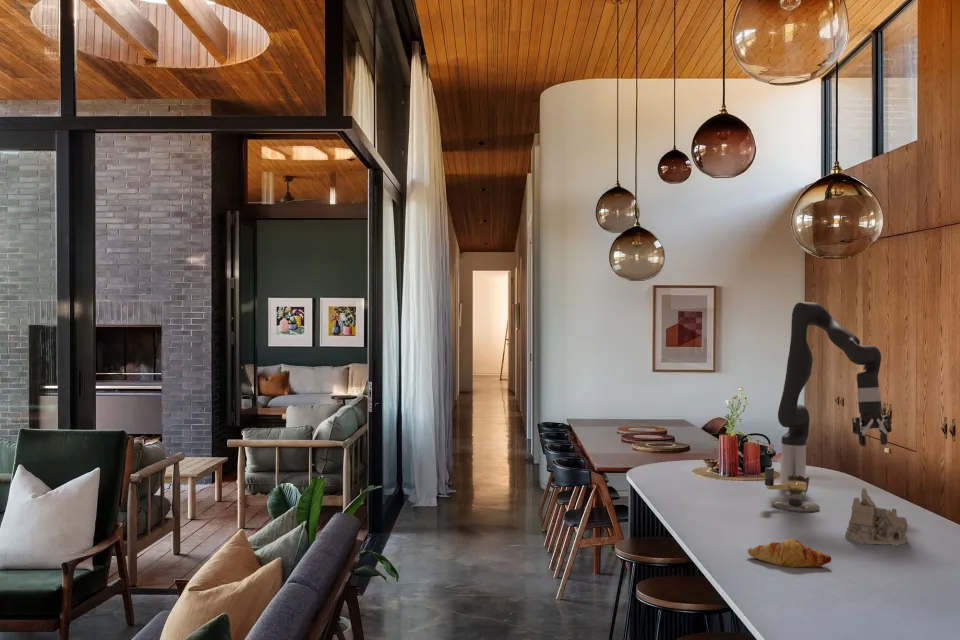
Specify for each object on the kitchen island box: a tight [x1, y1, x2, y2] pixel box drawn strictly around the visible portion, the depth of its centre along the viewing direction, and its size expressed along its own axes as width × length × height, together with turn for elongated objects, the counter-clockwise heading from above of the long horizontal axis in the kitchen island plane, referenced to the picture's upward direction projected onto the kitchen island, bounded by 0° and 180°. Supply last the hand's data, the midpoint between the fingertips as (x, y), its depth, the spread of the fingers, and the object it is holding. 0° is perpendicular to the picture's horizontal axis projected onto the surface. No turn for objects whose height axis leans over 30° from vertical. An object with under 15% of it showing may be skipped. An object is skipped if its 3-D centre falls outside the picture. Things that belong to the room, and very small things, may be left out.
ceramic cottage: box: [844, 487, 909, 545], centre depth 232 cm, size 16×16×15 cm
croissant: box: [747, 538, 832, 568], centre depth 208 cm, size 21×10×8 cm, turn 70°
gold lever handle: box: [764, 466, 806, 491], centre depth 273 cm, size 15×7×8 cm, turn 97°
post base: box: [771, 490, 821, 513], centre depth 273 cm, size 16×16×6 cm
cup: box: [788, 475, 810, 499], centre depth 288 cm, size 8×7×8 cm
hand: (873, 445), depth 274 cm, fingers open, 8 cm apart
